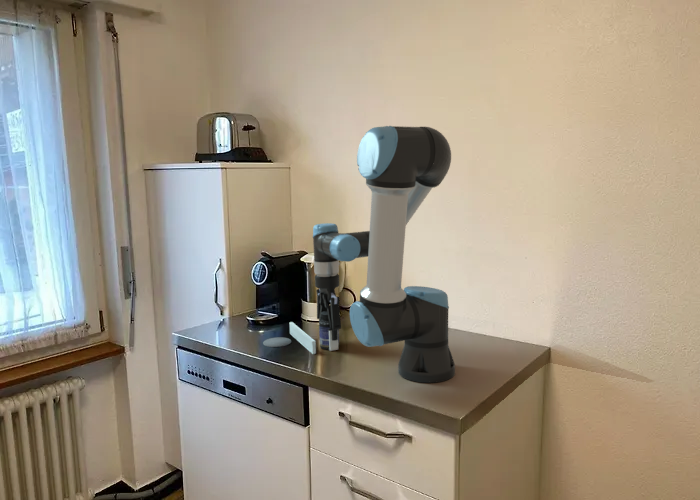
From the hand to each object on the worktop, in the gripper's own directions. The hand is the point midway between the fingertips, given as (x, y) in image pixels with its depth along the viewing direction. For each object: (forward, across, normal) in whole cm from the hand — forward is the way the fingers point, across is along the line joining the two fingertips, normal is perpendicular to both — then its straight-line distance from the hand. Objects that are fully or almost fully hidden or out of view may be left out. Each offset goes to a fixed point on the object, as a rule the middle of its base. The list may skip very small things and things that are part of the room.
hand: (329, 345), depth 168 cm
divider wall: (0, +7, +6) cm, 10 cm away
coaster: (0, +12, +14) cm, 18 cm away
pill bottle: (0, 0, 0) cm, 0 cm away
